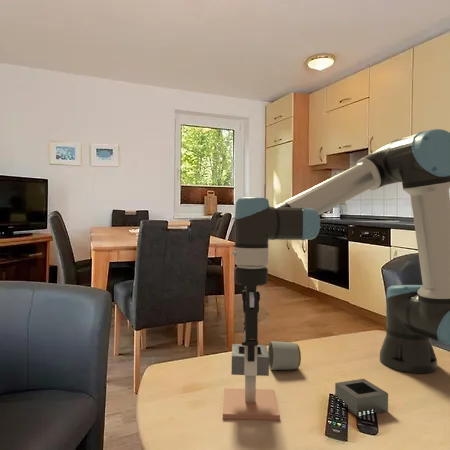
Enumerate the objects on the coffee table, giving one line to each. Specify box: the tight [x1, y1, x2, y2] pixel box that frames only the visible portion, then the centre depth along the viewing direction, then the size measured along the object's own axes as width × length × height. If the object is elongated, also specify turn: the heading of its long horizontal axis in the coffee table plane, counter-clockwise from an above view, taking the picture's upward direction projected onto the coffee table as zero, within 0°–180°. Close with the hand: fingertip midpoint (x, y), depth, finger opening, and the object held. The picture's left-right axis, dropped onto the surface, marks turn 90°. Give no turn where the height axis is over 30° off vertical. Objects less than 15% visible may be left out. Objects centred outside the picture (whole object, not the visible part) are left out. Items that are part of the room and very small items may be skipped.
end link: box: [231, 343, 270, 377], centre depth 84 cm, size 8×8×4 cm
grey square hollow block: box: [334, 378, 389, 416], centre depth 85 cm, size 8×8×4 cm
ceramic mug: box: [267, 340, 302, 371], centre depth 107 cm, size 11×8×8 cm
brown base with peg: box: [222, 376, 281, 421], centre depth 84 cm, size 12×12×9 cm
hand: (249, 366), depth 84 cm, fingers closed on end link, 8 cm apart
